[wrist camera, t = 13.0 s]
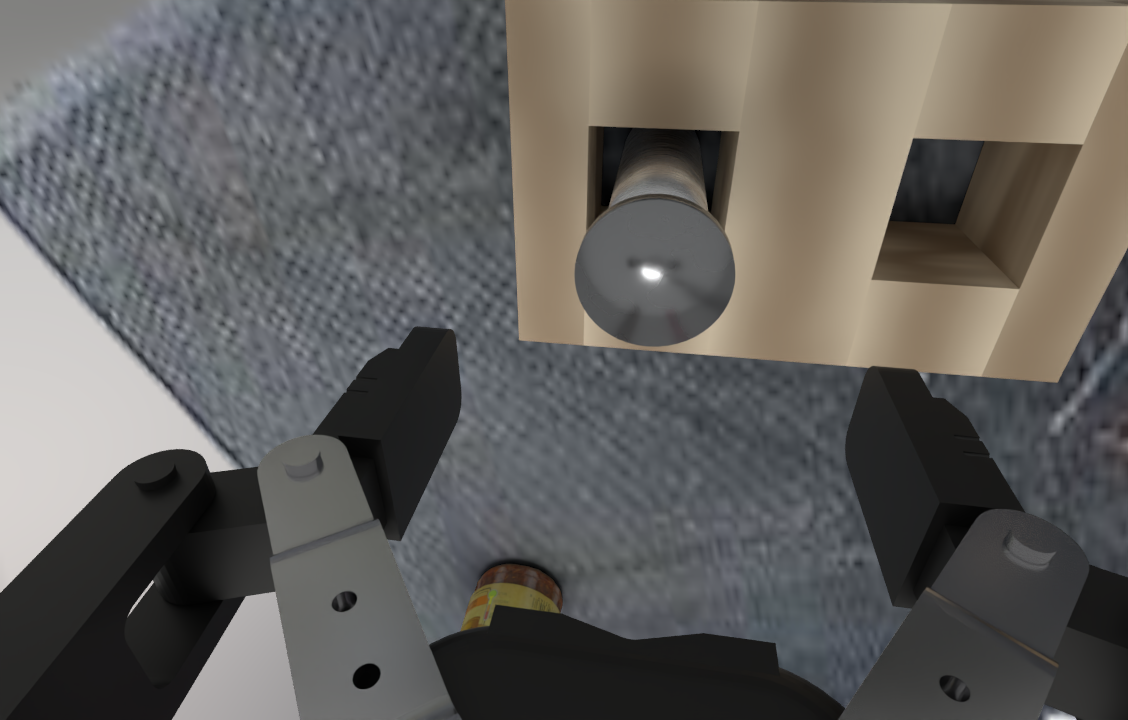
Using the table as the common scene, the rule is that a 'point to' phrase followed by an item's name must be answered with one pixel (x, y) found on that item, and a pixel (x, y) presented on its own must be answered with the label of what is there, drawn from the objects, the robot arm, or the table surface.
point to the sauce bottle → (511, 593)
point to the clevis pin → (656, 246)
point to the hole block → (841, 168)
